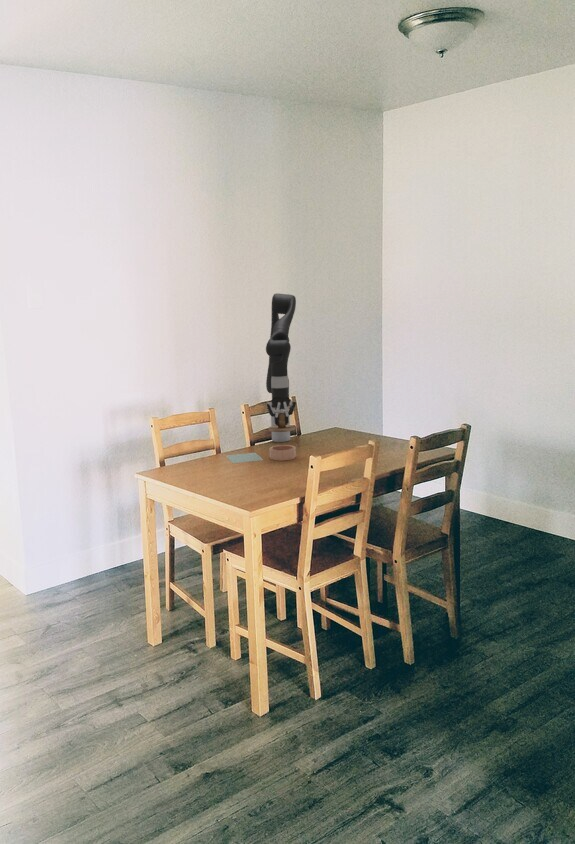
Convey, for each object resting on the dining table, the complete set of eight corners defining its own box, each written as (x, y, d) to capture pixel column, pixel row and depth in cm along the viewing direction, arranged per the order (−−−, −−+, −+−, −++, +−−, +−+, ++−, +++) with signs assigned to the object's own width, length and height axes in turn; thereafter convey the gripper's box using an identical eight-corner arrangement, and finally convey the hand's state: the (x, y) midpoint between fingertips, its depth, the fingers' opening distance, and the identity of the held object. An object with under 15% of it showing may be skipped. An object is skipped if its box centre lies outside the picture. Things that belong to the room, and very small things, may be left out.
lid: (265, 428, 318) (264, 412, 317) (291, 425, 321) (290, 410, 320) (272, 432, 306) (271, 416, 305) (298, 430, 310) (298, 414, 308)
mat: (225, 456, 324) (225, 455, 324) (255, 453, 328) (255, 452, 328) (232, 464, 309) (232, 463, 309) (263, 461, 313) (263, 459, 313)
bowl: (267, 457, 320) (267, 446, 319) (291, 454, 323) (291, 444, 322) (273, 462, 309) (273, 451, 308) (298, 460, 312) (298, 449, 311)
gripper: (293, 384, 316) (294, 422, 319) (262, 386, 312) (264, 425, 315) (297, 386, 309) (299, 425, 312) (266, 388, 305) (268, 428, 308)
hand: (281, 424), depth 313 cm, fingers closed on lid, 3 cm apart
